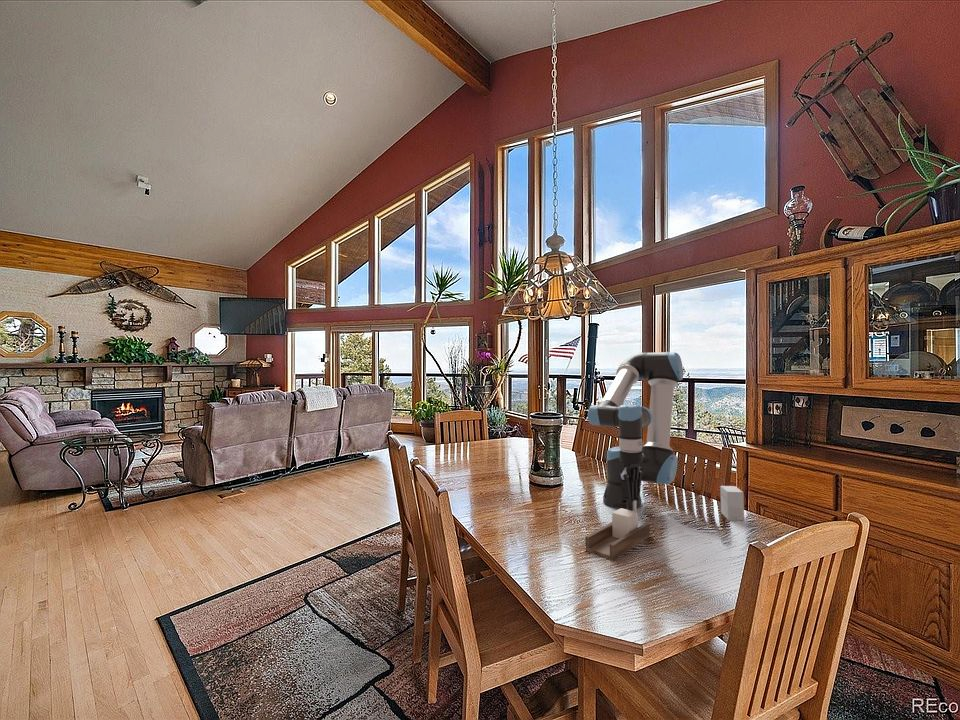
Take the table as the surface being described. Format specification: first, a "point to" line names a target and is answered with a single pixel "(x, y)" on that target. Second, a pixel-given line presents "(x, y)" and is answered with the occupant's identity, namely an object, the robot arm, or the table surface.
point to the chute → (615, 541)
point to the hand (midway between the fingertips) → (632, 519)
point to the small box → (732, 502)
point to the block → (623, 522)
